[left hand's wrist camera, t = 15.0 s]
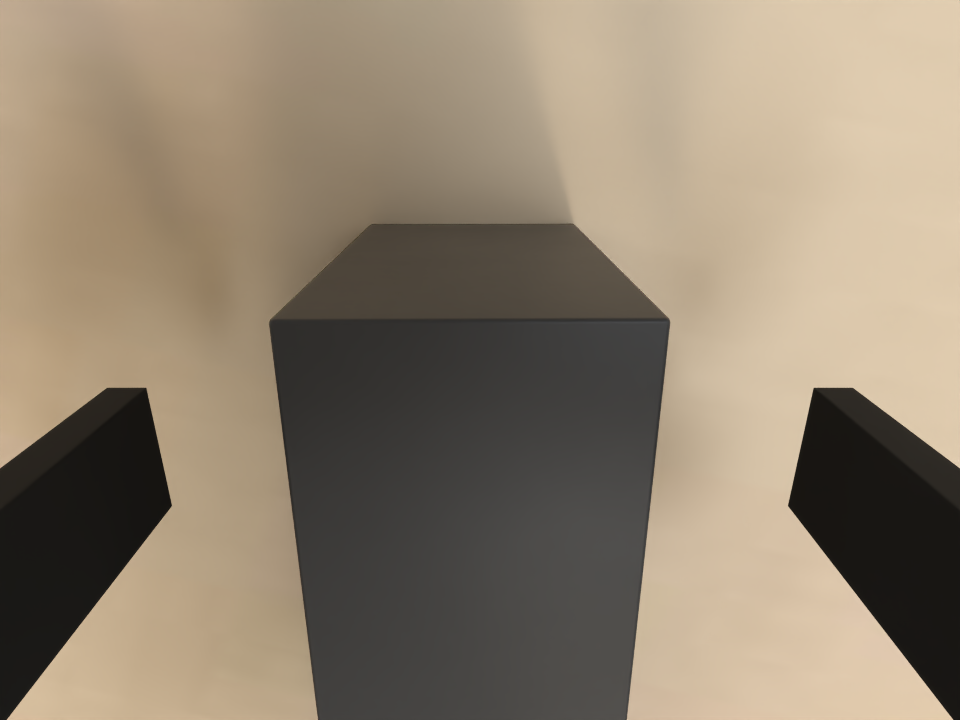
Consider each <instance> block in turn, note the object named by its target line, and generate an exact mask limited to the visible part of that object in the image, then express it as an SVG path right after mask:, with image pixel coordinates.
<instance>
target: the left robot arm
mask: <svg viewBox="0 0 960 720" xmlns="http://www.w3.org/2000/svg"><path fill="white" fill-rule="evenodd" d="M171 506H172V504H171V499H170V495H169V490H168V486H167V481H166V476H165V472H164V467H163V463H162V458H161V453H160V449H159V444H158V440H157V435H156V431H155V426H154V421H153V417H152V412H151V408H150V403H149V398H148V394H147V389H146V388H106V389H105V390H104V391H102V392H101V393H100V394H99V395H97V396H96V397H95V398H93V399H92V400H91V401H89V402H88V403H87V404H85V405H84V406H83V407H81V408H80V409H79V410H77V411H76V412H75V413H73V414H72V415H71V416H69V417H68V418H67V419H65V420H64V421H63V422H61V423H60V424H59V425H57V426H56V427H55V428H53V429H52V430H51V431H49V432H48V433H47V434H45V435H44V436H43V437H41V438H40V439H39V440H37V441H36V442H35V443H33V444H32V445H31V446H29V447H28V448H27V449H25V450H24V451H23V452H21V453H20V454H19V455H17V456H16V457H15V458H13V459H12V460H11V461H9V462H8V463H7V464H5V465H4V466H3V467H2V468H0V720H7V719H8V717H9V716H10V715H11V713H12V712H13V711H14V709H15V708H16V707H17V706H18V704H19V703H20V702H21V700H22V699H23V698H24V697H25V695H26V694H27V693H28V691H29V690H30V689H31V687H32V686H33V685H34V684H35V682H36V681H37V680H38V678H39V677H40V676H41V675H42V673H43V672H44V671H45V669H46V668H47V667H48V665H49V664H50V663H51V662H52V660H53V659H54V658H55V656H56V655H57V654H58V653H59V651H60V650H61V649H62V647H63V646H64V645H65V643H66V642H67V641H68V640H69V638H70V637H71V636H72V634H73V633H74V632H75V631H76V629H77V628H78V627H79V625H80V624H81V623H82V622H83V620H84V619H85V618H86V616H87V615H88V614H89V612H90V611H91V610H92V609H93V607H94V606H95V605H96V603H97V602H98V601H99V600H100V598H101V597H102V596H103V594H104V593H105V592H106V590H107V589H108V588H109V587H110V585H111V584H112V583H113V581H114V580H115V579H116V578H117V576H118V575H119V574H120V572H121V571H122V570H123V568H124V567H125V566H126V565H127V563H128V562H129V561H130V559H131V558H132V557H133V556H134V554H135V553H136V552H137V550H138V549H139V548H140V546H141V545H142V544H143V543H144V541H145V540H146V539H147V537H148V536H149V535H150V534H151V532H152V531H153V530H154V528H155V527H156V526H157V524H158V523H159V522H160V521H161V519H162V518H163V517H164V515H165V514H166V513H167V512H168V510H169V509H170V508H171ZM788 506H789V508H790V509H791V510H792V512H793V513H794V514H795V515H796V517H797V518H798V519H799V521H800V522H801V523H802V525H803V526H804V527H805V528H806V530H807V531H808V532H809V534H810V535H811V536H812V537H813V539H814V540H815V541H816V543H817V544H818V545H819V546H820V548H821V549H822V550H823V552H824V553H825V554H826V556H827V557H828V558H829V559H830V561H831V562H832V563H833V565H834V566H835V567H836V568H837V570H838V571H839V572H840V574H841V575H842V576H843V578H844V579H845V580H846V581H847V583H848V584H849V585H850V587H851V588H852V589H853V590H854V592H855V593H856V594H857V596H858V597H859V598H860V600H861V601H862V602H863V603H864V605H865V606H866V607H867V609H868V610H869V611H870V612H871V614H872V615H873V616H874V618H875V619H876V620H877V622H878V623H879V624H880V625H881V627H882V628H883V629H884V631H885V632H886V633H887V634H888V636H889V637H890V638H891V640H892V641H893V642H894V643H895V645H896V646H897V647H898V649H899V650H900V651H901V653H902V654H903V655H904V656H905V658H906V659H907V660H908V662H909V663H910V664H911V665H912V667H913V668H914V669H915V671H916V672H917V673H918V675H919V676H920V677H921V678H922V680H923V681H924V682H925V684H926V685H927V686H928V687H929V689H930V690H931V691H932V693H933V694H934V695H935V697H936V698H937V699H938V700H939V702H940V703H941V704H942V706H943V707H944V708H945V709H946V711H947V712H948V713H949V715H950V716H951V717H952V719H953V720H960V468H958V467H957V466H956V465H955V464H953V463H952V462H951V461H949V460H948V459H947V458H945V457H944V456H943V455H941V454H940V453H939V452H937V451H936V450H935V449H933V448H932V447H931V446H929V445H928V444H927V443H925V442H924V441H923V440H921V439H920V438H919V437H917V436H916V435H915V434H913V433H912V432H911V431H909V430H908V429H907V428H905V427H904V426H903V425H901V424H900V423H899V422H897V421H896V420H895V419H893V418H892V417H891V416H889V415H888V414H887V413H885V412H884V411H883V410H881V409H880V408H879V407H877V406H876V405H875V404H873V403H872V402H871V401H869V400H868V399H867V398H865V397H864V396H863V395H861V394H860V393H859V392H858V391H856V390H855V389H854V388H814V389H813V394H812V398H811V403H810V408H809V412H808V417H807V421H806V426H805V431H804V435H803V440H802V444H801V449H800V453H799V458H798V463H797V467H796V472H795V476H794V481H793V486H792V490H791V495H790V499H789V504H788Z"/></svg>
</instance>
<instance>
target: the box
mask: <svg viewBox="0 0 960 720" xmlns="http://www.w3.org/2000/svg"><path fill="white" fill-rule="evenodd" d="M269 326H270V334H271V343H272V351H273V359H274V367H275V375H276V383H277V391H278V399H279V407H280V415H281V423H282V432H283V440H284V448H285V456H286V464H287V472H288V480H289V488H290V496H291V504H292V512H293V520H294V529H295V537H296V545H297V553H298V561H299V569H300V577H301V585H302V593H303V601H304V609H305V618H306V626H307V634H308V642H309V650H310V658H311V666H312V674H313V682H314V690H315V698H316V706H317V715H318V720H627V712H628V703H629V694H630V684H631V675H632V666H633V657H634V648H635V639H636V630H637V621H638V611H639V602H640V593H641V584H642V575H643V566H644V557H645V547H646V538H647V529H648V520H649V511H650V502H651V493H652V484H653V474H654V465H655V456H656V447H657V438H658V429H659V420H660V410H661V401H662V392H663V383H664V374H665V365H666V356H667V347H668V337H669V328H670V320H669V318H668V317H667V316H666V315H665V314H664V313H663V312H662V311H661V310H660V309H659V308H658V307H657V306H656V305H655V304H654V303H653V302H652V301H651V300H650V299H649V298H648V297H647V296H646V295H645V294H644V293H643V292H642V291H641V290H640V289H639V288H638V287H637V286H636V285H635V284H634V283H633V282H632V281H631V280H630V279H629V278H628V277H627V276H626V275H625V274H624V273H623V272H622V271H621V270H619V269H618V268H617V267H616V266H615V265H614V264H613V263H612V262H611V261H610V260H609V259H608V258H607V257H606V256H605V255H604V254H603V253H602V252H601V251H600V250H599V249H598V248H597V247H596V246H595V245H594V244H593V243H592V242H591V241H590V240H589V239H588V238H587V237H586V236H585V235H584V234H583V233H582V232H581V231H580V230H579V229H578V228H577V227H576V226H575V225H574V224H372V225H370V226H369V227H368V228H367V229H366V230H365V231H364V232H363V233H362V234H360V235H359V236H358V237H357V238H356V239H355V240H354V241H353V242H352V243H351V244H350V245H349V246H348V247H347V248H346V249H345V250H344V251H343V252H341V253H340V254H339V255H338V256H337V257H336V258H335V259H334V260H333V261H332V262H331V263H330V264H329V265H328V266H327V267H326V268H325V269H324V270H322V271H321V272H320V273H319V274H318V275H317V276H316V277H315V278H314V279H313V280H312V281H311V282H310V283H309V284H308V285H307V286H306V287H305V288H303V289H302V290H301V291H300V292H299V293H298V294H297V295H296V296H295V297H294V298H293V299H292V300H291V301H290V302H289V303H288V304H287V305H285V306H284V307H283V308H282V309H281V310H280V311H279V312H278V313H277V314H276V315H275V316H274V317H273V318H272V319H271V320H270V322H269Z"/></svg>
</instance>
